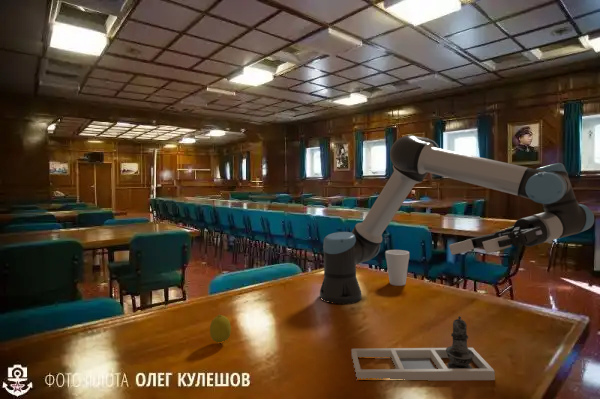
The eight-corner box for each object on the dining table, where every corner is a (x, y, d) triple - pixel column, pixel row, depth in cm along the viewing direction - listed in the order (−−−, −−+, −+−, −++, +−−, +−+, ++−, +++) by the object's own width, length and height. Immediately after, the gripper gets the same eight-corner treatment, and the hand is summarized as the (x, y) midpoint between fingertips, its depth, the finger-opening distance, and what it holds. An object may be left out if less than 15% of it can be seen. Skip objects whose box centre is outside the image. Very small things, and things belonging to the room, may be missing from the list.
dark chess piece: (468, 361, 83) (468, 311, 82) (478, 374, 77) (478, 321, 76) (442, 360, 83) (442, 310, 82) (450, 374, 77) (450, 321, 77)
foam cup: (383, 280, 149) (382, 250, 148) (404, 279, 149) (403, 249, 149) (390, 287, 139) (390, 255, 138) (413, 286, 140) (412, 254, 139)
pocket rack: (356, 380, 76) (356, 371, 76) (351, 356, 86) (351, 348, 86) (494, 380, 75) (494, 370, 74) (472, 355, 85) (472, 347, 85)
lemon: (235, 340, 97) (234, 312, 96) (224, 349, 91) (223, 319, 91) (217, 338, 98) (216, 310, 98) (206, 347, 93) (205, 317, 93)
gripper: (586, 240, 80) (508, 263, 76) (506, 245, 104) (443, 263, 100) (575, 208, 81) (497, 229, 77) (498, 221, 105) (435, 237, 101)
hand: (466, 248), depth 88 cm, fingers open, 13 cm apart
